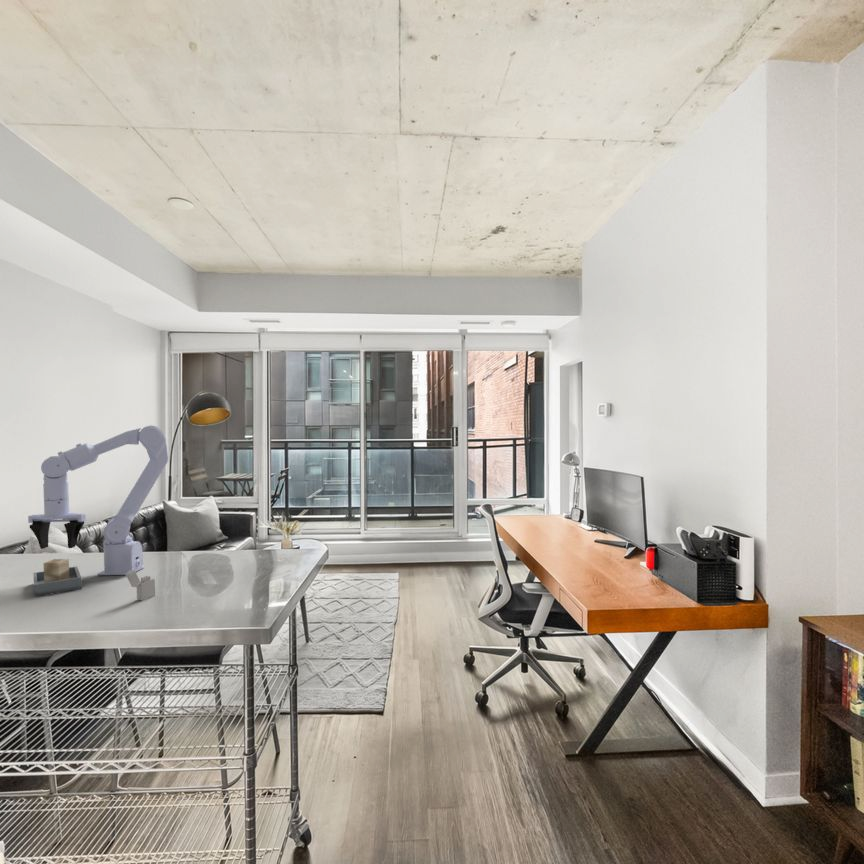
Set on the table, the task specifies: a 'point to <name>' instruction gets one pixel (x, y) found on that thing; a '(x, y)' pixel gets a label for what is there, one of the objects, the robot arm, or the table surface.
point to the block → (56, 570)
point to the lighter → (142, 585)
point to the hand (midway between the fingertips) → (58, 547)
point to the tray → (57, 583)
